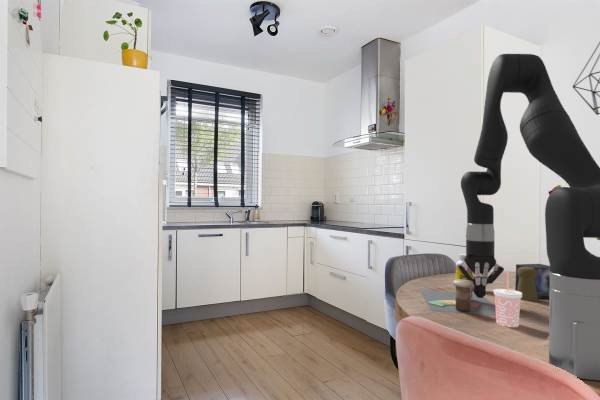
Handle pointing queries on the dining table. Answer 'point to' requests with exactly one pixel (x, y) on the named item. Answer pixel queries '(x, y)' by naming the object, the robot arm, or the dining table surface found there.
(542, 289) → the small box
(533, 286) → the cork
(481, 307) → the grey flat slab
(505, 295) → the beverage cup
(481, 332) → the dining table surface
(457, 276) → the supplement bottle
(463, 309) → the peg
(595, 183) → the robot arm
